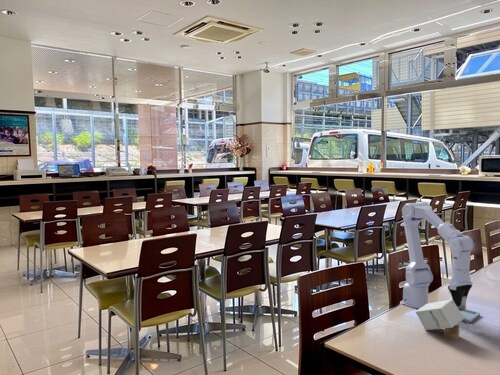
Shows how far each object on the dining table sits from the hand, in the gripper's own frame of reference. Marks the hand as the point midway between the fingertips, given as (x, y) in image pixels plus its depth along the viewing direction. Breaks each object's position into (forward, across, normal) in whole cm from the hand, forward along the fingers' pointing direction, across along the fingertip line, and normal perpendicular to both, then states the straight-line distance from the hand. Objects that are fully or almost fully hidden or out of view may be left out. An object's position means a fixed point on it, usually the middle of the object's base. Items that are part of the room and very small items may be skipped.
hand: (459, 304), depth 141 cm
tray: (+8, +10, +3) cm, 14 cm away
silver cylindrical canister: (+2, 0, 0) cm, 2 cm away
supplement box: (+5, -10, +8) cm, 14 cm away
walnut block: (+8, -12, -2) cm, 14 cm away
